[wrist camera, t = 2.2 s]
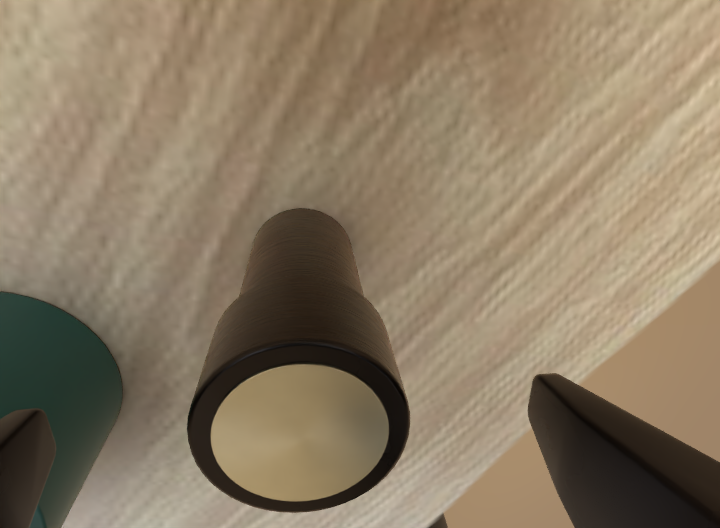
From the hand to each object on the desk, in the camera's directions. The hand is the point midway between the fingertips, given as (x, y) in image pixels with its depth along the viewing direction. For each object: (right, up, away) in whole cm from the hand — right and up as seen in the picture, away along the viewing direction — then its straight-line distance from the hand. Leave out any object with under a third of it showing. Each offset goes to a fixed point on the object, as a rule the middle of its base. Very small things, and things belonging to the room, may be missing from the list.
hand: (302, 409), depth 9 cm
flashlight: (-1, +3, +7) cm, 7 cm away
